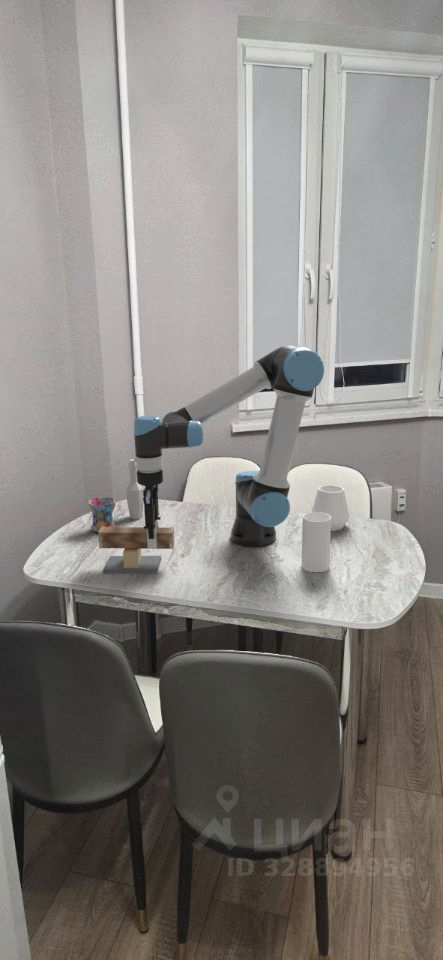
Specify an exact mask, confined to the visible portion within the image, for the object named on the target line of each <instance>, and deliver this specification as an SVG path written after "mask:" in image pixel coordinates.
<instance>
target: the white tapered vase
mask: <svg viewBox="0 0 443 960" xmlns="http://www.w3.org/2000/svg"><path fill="white" fill-rule="evenodd" d="M311 512H321V513H326V514H328V515H330V516H331V532H336V531H340V530H342V529H344V526H345V525H346V524H347V522H348V521H349V519H350V512H349V507H348V503H347V497H346V492H345V488H344V487H342V486H339V485H335V484H326V485H325V484H324V485H321V486H319V487H318V489H317V492H316V495H315V497H314V502H313V505H312V509H311Z"/></svg>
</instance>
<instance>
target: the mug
mask: <svg viewBox="0 0 443 960" xmlns="http://www.w3.org/2000/svg"><path fill="white" fill-rule="evenodd" d="M87 504H88V506H89V509H90V510H91V513H92V525H91V527H90V529H91V530H92V531H93V532H95V533H98V532H99V530H100V528H101V527H117V526H116V524H115V522H114V518H113V517H114V516H113V512H114V510H115V506H116V499H115V498H113V497H111V496H110V497H109V496H100V497H99V496H98V497H94V498H92V499H89V500H88V501H87Z"/></svg>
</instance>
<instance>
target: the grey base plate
mask: <svg viewBox="0 0 443 960" xmlns="http://www.w3.org/2000/svg"><path fill="white" fill-rule="evenodd" d="M161 562H162V555H142V549H134V548H123V551H122V555H110V556H109V557H108V558H107V561H106V563H105V565H104V567H103V569H102V571H103V574H158V571H159V568H160V566H161Z"/></svg>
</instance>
